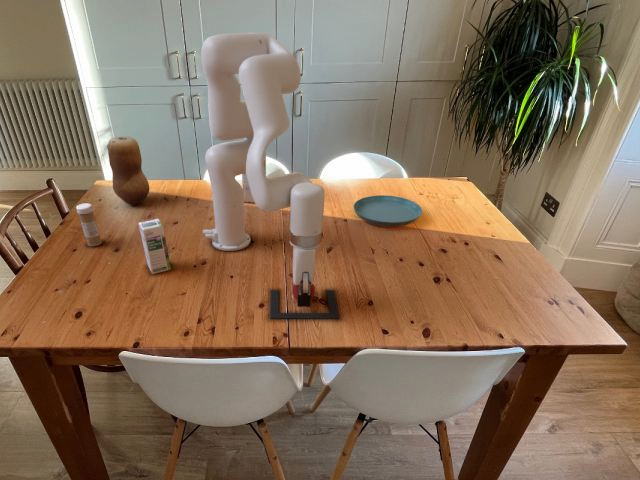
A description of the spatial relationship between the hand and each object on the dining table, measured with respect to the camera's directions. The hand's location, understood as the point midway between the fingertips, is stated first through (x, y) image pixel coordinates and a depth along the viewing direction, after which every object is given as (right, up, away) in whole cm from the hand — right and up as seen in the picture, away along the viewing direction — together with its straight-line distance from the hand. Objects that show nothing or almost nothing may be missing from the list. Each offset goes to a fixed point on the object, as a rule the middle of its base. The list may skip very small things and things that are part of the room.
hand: (303, 297), depth 106 cm
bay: (0, -1, +1) cm, 1 cm away
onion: (0, -1, +1) cm, 1 cm away
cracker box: (-15, +40, +60) cm, 74 cm away
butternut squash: (-63, +36, +56) cm, 92 cm away
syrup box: (-42, +8, +15) cm, 45 cm away
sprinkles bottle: (-66, +17, +28) cm, 74 cm away
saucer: (+34, +29, +44) cm, 62 cm away
